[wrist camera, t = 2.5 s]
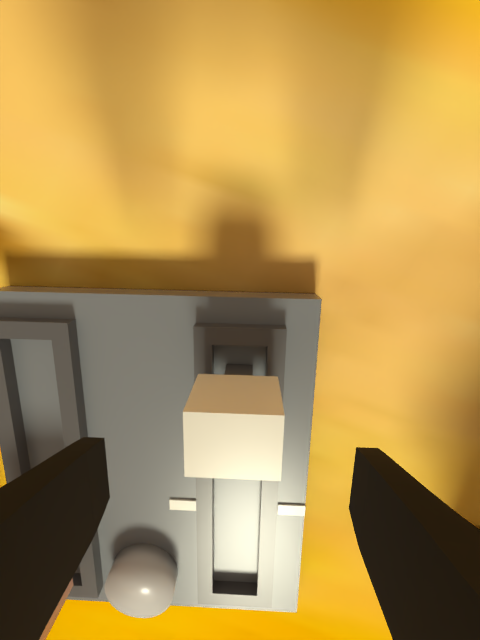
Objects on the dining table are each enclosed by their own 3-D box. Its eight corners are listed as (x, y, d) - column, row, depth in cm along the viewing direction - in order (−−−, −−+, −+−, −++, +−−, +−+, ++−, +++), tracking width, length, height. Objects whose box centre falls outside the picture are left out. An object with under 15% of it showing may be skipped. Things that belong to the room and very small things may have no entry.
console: (315, 293, 16) (327, 304, 13) (293, 585, 20) (299, 637, 18) (9, 286, 16) (-37, 295, 14) (52, 572, 21) (23, 620, 18)
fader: (274, 359, 15) (284, 415, 10) (272, 407, 16) (280, 480, 11) (204, 357, 15) (182, 411, 11) (205, 404, 16) (184, 476, 11)
